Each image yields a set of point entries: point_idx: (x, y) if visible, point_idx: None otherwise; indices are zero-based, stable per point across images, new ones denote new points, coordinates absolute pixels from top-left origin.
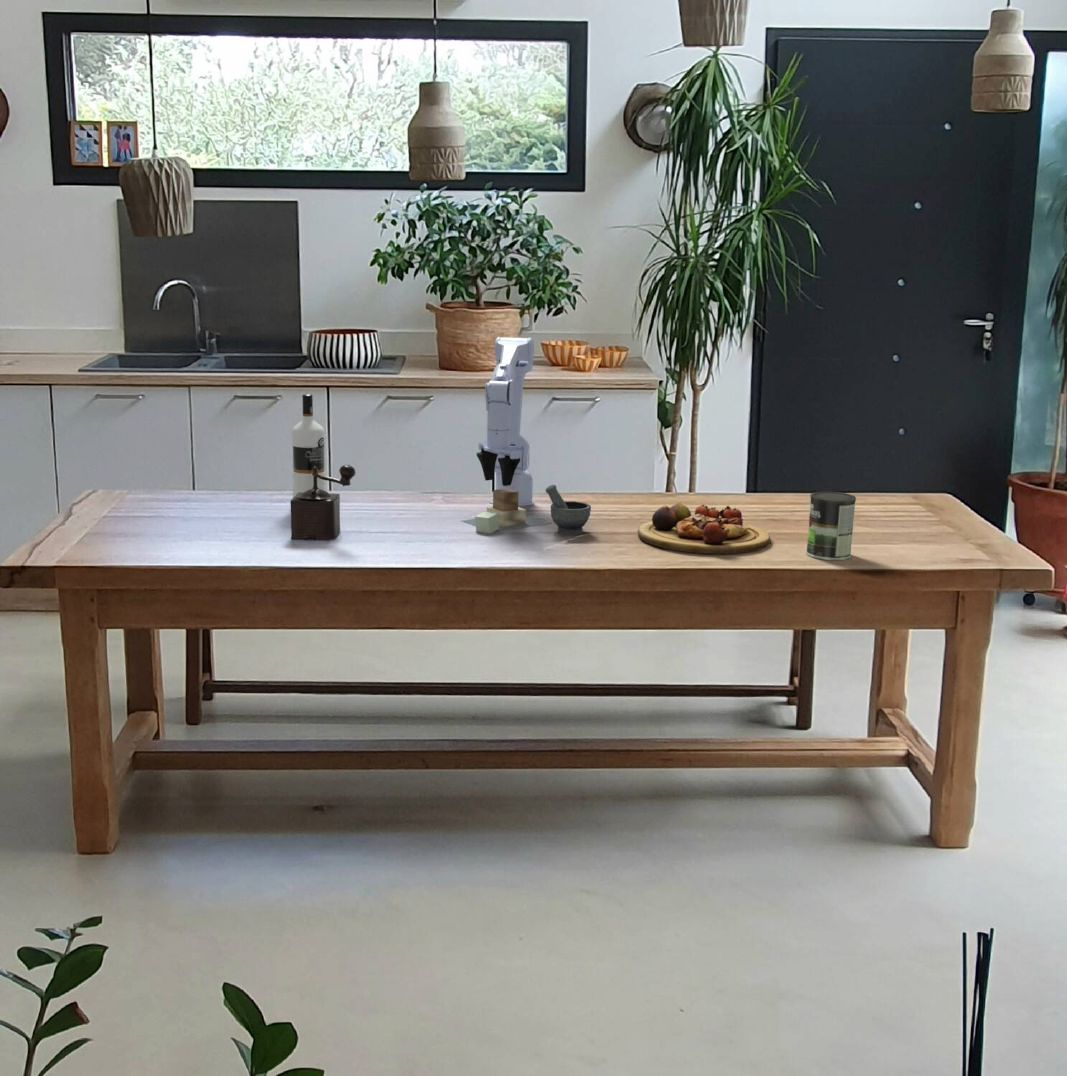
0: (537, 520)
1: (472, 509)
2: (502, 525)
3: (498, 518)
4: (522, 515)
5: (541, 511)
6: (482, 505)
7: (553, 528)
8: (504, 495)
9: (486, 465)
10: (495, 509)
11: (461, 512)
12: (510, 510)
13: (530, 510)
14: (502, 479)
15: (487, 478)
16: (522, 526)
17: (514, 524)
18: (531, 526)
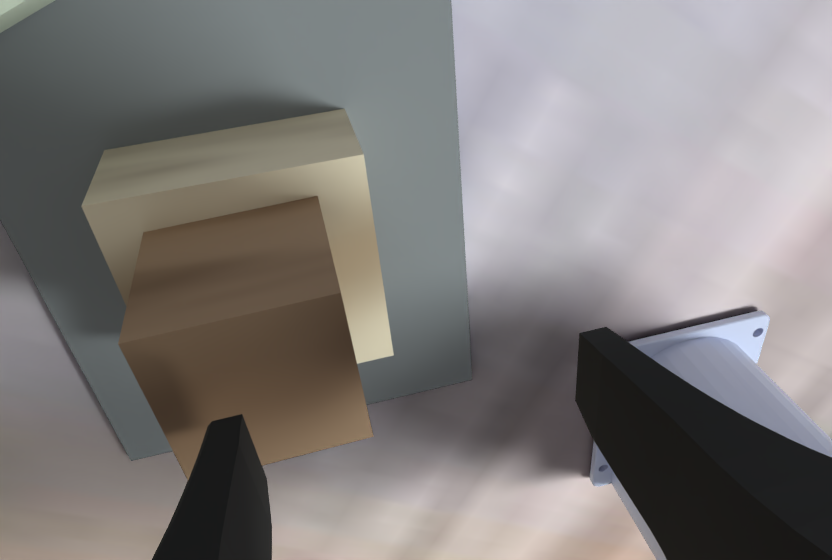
0: None
1: (721, 170)
2: (106, 153)
3: (164, 162)
4: None
5: (457, 476)
6: (753, 262)
7: (15, 441)
8: (127, 336)
9: (693, 478)
10: (249, 194)
11: (707, 60)
12: None
13: (504, 440)
14: (217, 472)
15: (589, 357)
16: (73, 286)
17: None
18: (66, 340)
